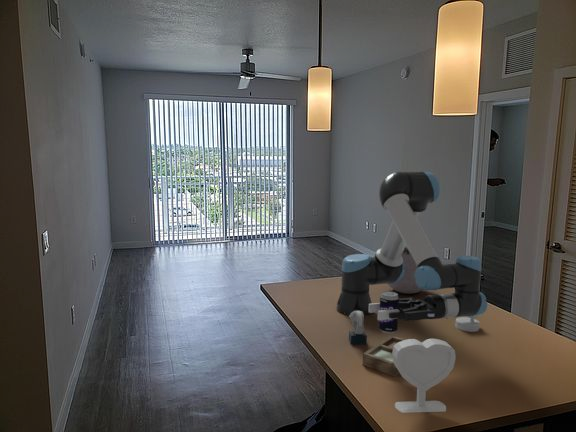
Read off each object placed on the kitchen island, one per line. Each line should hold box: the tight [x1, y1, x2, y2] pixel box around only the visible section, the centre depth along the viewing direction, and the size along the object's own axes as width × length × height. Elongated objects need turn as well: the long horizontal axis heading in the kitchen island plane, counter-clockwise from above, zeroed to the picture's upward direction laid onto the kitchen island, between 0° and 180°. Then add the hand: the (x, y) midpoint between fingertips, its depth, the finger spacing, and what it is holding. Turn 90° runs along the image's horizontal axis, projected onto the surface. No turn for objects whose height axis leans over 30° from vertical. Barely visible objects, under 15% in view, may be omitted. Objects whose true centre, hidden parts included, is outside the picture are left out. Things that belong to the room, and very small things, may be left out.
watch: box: [348, 311, 368, 345], centre depth 155 cm, size 6×8×11 cm
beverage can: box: [378, 291, 400, 335], centre depth 136 cm, size 6×6×12 cm
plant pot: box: [387, 246, 423, 295], centre depth 212 cm, size 24×24×30 cm
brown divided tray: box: [362, 335, 406, 377], centre depth 142 cm, size 11×19×4 cm, turn 140°
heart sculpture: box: [392, 338, 457, 414], centre depth 114 cm, size 16×5×18 cm, turn 94°
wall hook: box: [454, 315, 481, 333], centre depth 170 cm, size 9×10×10 cm
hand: (373, 311), depth 135 cm, fingers closed on beverage can, 6 cm apart
